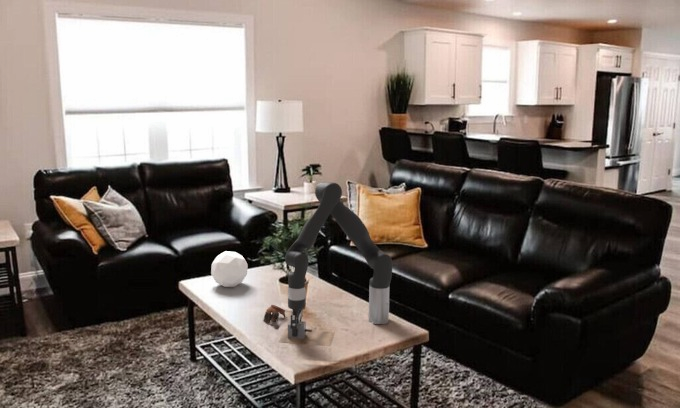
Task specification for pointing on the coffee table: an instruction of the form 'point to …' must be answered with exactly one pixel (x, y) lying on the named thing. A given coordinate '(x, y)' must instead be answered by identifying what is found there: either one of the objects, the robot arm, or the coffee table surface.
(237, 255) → the geometric orb
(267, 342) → the coffee table surface
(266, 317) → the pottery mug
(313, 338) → the header board
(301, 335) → the plug housing
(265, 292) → the coffee table surface
